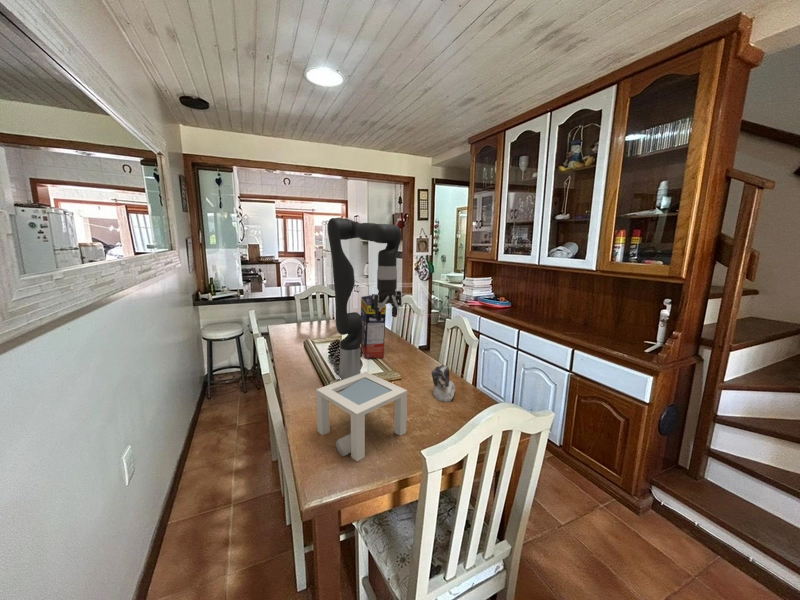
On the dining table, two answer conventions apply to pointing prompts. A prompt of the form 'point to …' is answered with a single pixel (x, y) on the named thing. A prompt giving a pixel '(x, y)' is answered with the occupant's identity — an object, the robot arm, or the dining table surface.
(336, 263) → the robot arm
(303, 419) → the dining table surface
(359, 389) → the trapdoor
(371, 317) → the cereal box
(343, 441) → the white rounded cylinder
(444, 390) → the stone
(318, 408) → the stand
